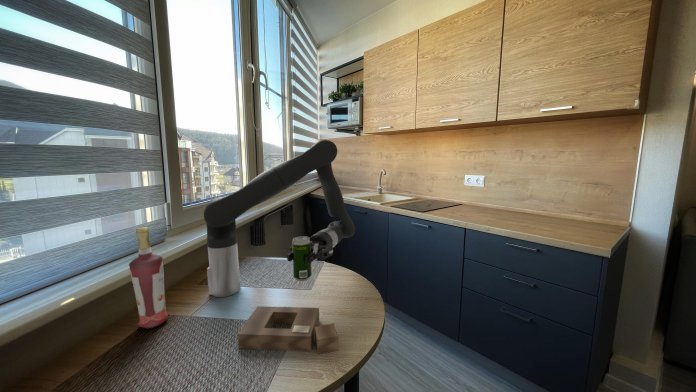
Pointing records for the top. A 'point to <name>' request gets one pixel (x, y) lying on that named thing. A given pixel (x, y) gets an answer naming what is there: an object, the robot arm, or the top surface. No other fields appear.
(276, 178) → the robot arm
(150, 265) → the liquor
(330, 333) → the walnut block
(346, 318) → the top surface
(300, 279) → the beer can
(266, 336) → the socket block
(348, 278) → the top surface
